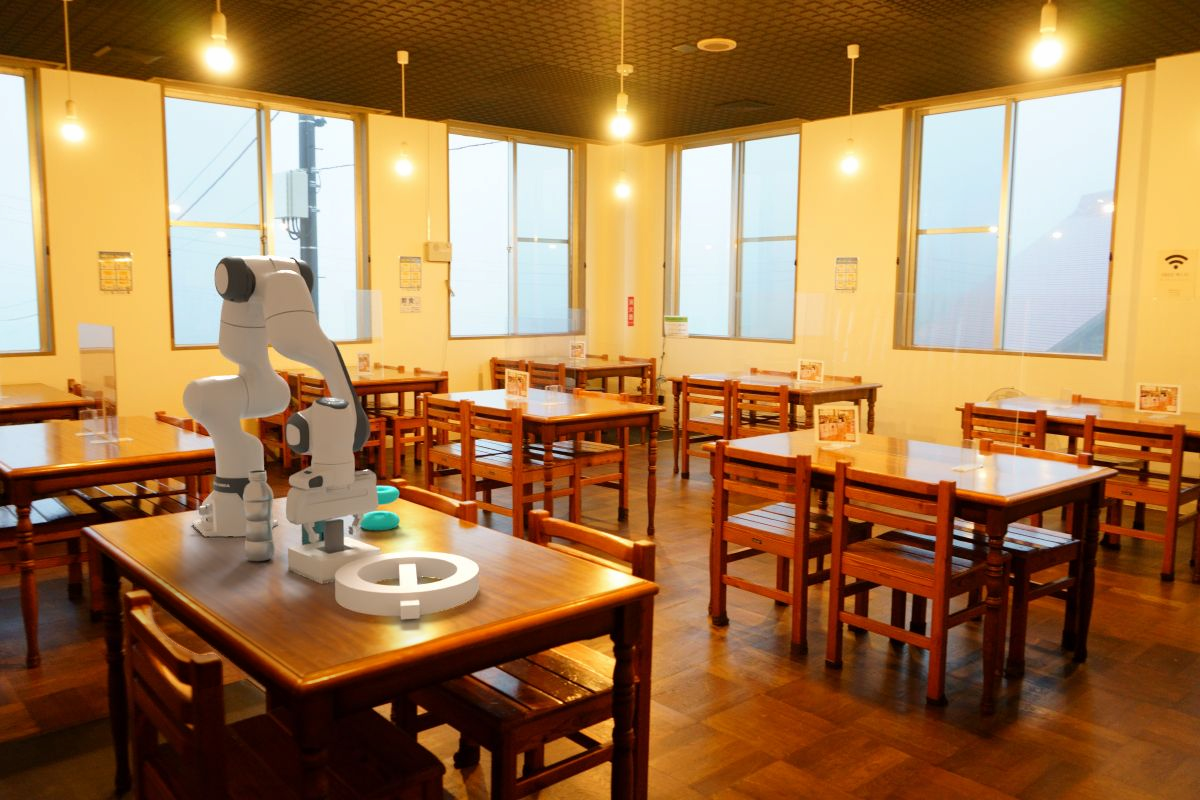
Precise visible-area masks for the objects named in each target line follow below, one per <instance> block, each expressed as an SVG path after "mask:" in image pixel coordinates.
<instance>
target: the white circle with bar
mask: <svg viewBox="0 0 1200 800" xmlns="http://www.w3.org/2000/svg"><path fill="white" fill-rule="evenodd" d="M479 575H480V569H479V565H478V564H477V563H476V562H475V561H473V560H471V559H469V558H467V557H465V556H462V555H458V554H453V553H447V552H436V551H398V552H388V553H387V552H386V553H381V554H380V555H374V556H369V557H365V558H361V559H358V560H355V561H352V562H350V563H347V564H345V565H343V566H342V567H340V568H339V569H338V570H337V571H336V573H335V582H334V586H335V587H334V596H335V601H336V603H337V604H338V605H340V606H341V607H343V608H344V609H347V610H349V611H352V612H356V613H359V614H360V613H361V614H365V615H373V616H381V617H382V616H383V617H384V616H385V617H386V616H387V617H400V620H412V619H413V620H415V619H421V618H420V615H429V614H434V613H433V612H435V613H439V612H438V611H441V612H443V611H442V610H445V611H447V610H446V609H449V608H452V607H455V606H457V605H460V604H462V603H464V602H466V601H468V600H470V599H471V598H473V597H474V596H475V595H476V594H477V592H478V590H480V587H479V586H480V584H479V583H480V577H479ZM422 576H423V577H435V578H440V579H444V580H438V581H434V582H429V583H424V584H418V578H422ZM391 578H396V579H399V585H388V584H387V585H386V584H379V583H378V582H377V581H380V582H382V581H381V580H384V581H386V580H385V579H389V580H392V579H391ZM374 582H376V583H374ZM478 593H479V592H478ZM477 595H478V594H477ZM452 609H453V608H452ZM449 610H450V609H449ZM428 613H429V614H428Z"/></svg>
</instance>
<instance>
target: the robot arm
mask: <svg viewBox="0 0 1200 800" xmlns="http://www.w3.org/2000/svg"><path fill="white" fill-rule="evenodd" d="M314 278H315V277H314V274H313V270H312V268H311V266H310V264H309V263H308V262H307V261H305V260H302V259H300V258H295V257H289V258H288V257H284V256H276V255H267V254H266V255H265V254H264V255H250V256H249V255H248V256H247V255H245V256H244V255H243V256H240V255H230V256H226V257H223V258H221V259H220V261H219V262H218V263H217V264H216V267H215V270H214V285H215V286H214V287H215V289H216V292H217V293H218V295H219V296H220V297H221V298H222V306H221V310H220V311H221V312H220V321H219V332H218V333H219V334H218V345H217V347H218V350H219V353H220V354H221V355H222V357H224V358H225V359H227V360H228V361H230V362H232V363H234V364H236V365H238V374H232V375H231V374H228V375H227V374H225V375H210V376H205V377H200V378H196V379H194V380H191V381H190V382H189V383H188V384H187V385H186V387H185V389H184V391H183V394H182V404H183V408H184V409H185V412H186V413H187V414H188V415H189V416H190V418H192V419H193V420H195V421H196V422H198V423H199V424H200V425H201V426H202V427H203V428H204V429H205V430H206V431H207V433H208V435H209V436H210V439H211V441H212V445H213V447H214V448H213V449H214V456H215V470H216V472H215V473H216V474H215V475H213V478H214V479H213V484H212V489H213V490H212V492H210V494H209V495H208V496H207V497H206V498H205V499H204V500H202V501H203V502H202V504H201V505H200V506H199V507H198V515H199V516H201V518H198V519H197V518H196V519H195V520H193V521H191V524H193V525H194V526H195V527H196V528H197V529H198V530H199V531H200V532H201V533H202V534H201V533H200V532H199V531H198V530H197V529H196V528H195V527H194V526H193V525H192V526H193V527H194V528H195V529H196V530H197V531H198V532H199V533H200V534H201V535H202V536H203V535H204V536H203V537H207V536H209V537H228V536H233V537H246V526H247V524H246V521H247V520H246V512H245V507H244V500H243V494H244V491H245V489H246V488H247V486H248V485H249V483H250V481H249V472H250V471H253V470H265V466H264V465H265V461H264V460H265V459H264V458H265V457H264V444H263V443H262V441H261V440H260V439H259V438H258V437H257V436H255V435H254V434H251V433H249V432H246V431H244V430H243V428H242V424H241V420H246V419H256V418H267V417H271V416H274V415H278V414H281V413H283V412H285V411H286V409H287V408H288V406H289V405H290V403H291V389H290V386H289V384H288V382H287V381H286V379H284V378H283V377H282V376H281V375H280V374H278V373H277V371H276V370H275V369H274V367H273V366H272V363H271V360H270V356H269V344H270V346H271V347H272V348H273V349H274V351H276V352H277V353H278V354H280V355H281V356H282V357H284V358H286V359H289V360H291V361H295V362H297V363H302V364H304V365H306V366H309V367H311V368H313V369H315V370H316V371H318V373H319V374H321V375H322V377H323V378H324V380H325V382H326V385H327V387H328V391H329V393H330V396H324V397H319V398H316V399H314V401H313V402H312V404H311V406H309V407H308V408H306V409H303V410H300V411H297V412H293V414H291V416H290V417H289V418H288V419H287V421H286V424H285V427H284V437H285V442H286V446H288V447H289V449H290V450H292V451H293V452H294V453H296V454H297V455H306V456H307V455H312V456H311V460H310V463H311V465H309V466H308V467H306V468H304V469H301V470H300V471H298V472H295V473H294V474H291V475H290V476H289V479H288V484H289V485H290V486H292V487H290V488H289V490H288V492H287V494H286V501H285V503H286V504H285V517H286V519H287V521H288V522H289V523H290V524H293V525H295V526H297V525H302V524H303V526H304V528H305V529H306V531H307V532H308V534H309V542H311V543H314V542H319V534H318V533H315V532H314V530H313V529H312V527H314V522H317V521H322V520H328V519H340V518H343V517H350V516H352V518H354V519H353V521H352V524H351V525H349V526H348V535H351V536H355V535H358V534H359V533H360V528H359V527H361V525H360V524H361V522H362V520H363V515H364V514H367V513H369V512H374V511H377V509H378V507H379V505H378V495H377V488H376V486H377V475H376V473H375V472H373V471H372V470H371V469H363V470H355V467H356V466H355V465H356V464H355V462H356V461H355V455H354V452H358V451H360V449H362V448H363V447H364V445H365V444H366V443H367V442H368V440H369V438H370V436H371V431H372V429H371V424H370V420H369V418H368V415H367V414H366V412H365V411H364V409H363V407H362V405H361V403H360V400H359V398H358V395H357V392H356V390H355V387H354V385H353V383H352V380H351V377H350V375H349V374H350V373H349V371H348V368H347V366H346V363H345V361H344V359H343V356H342V353H341V351H340V349H339V348H338V346H337V344H336V342H335V341H333V340H331V339H330V338H329V337H328V336H327V335H326V334H325V332H324V331H323V330H322V328H321V326H320V323H319V321H318V318H317V313H316V309H315V305H314V302H313V298H312V295H311V293H312V292H313V289H314V286H315V285H314V282H315V280H314ZM267 480H268V479H267ZM267 480H266V482H267ZM271 525H272V528H273V527H276V526H277V525H279V521H278V519H275V518H274V513H273V509H272V518H271Z"/></svg>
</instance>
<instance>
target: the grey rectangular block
mask: <svg viewBox="0 0 1200 800" xmlns="http://www.w3.org/2000/svg"><path fill="white" fill-rule="evenodd" d="M344 523H345V522H344V519H342V518H334V519H328V520H325V521H324V546H325V552H326V553H328V554H331V553H336V552H340V551H344V537H345V532H344V531H345V530H344V525H345V524H344Z"/></svg>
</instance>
